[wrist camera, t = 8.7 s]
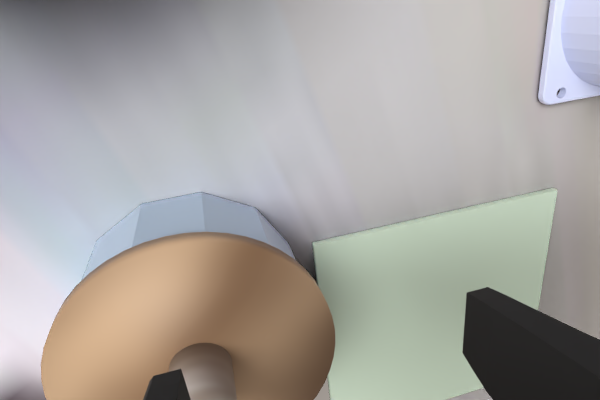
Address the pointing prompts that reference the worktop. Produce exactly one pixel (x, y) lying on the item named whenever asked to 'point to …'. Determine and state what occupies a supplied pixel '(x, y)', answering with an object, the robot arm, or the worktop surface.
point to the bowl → (184, 224)
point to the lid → (192, 324)
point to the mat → (425, 294)
